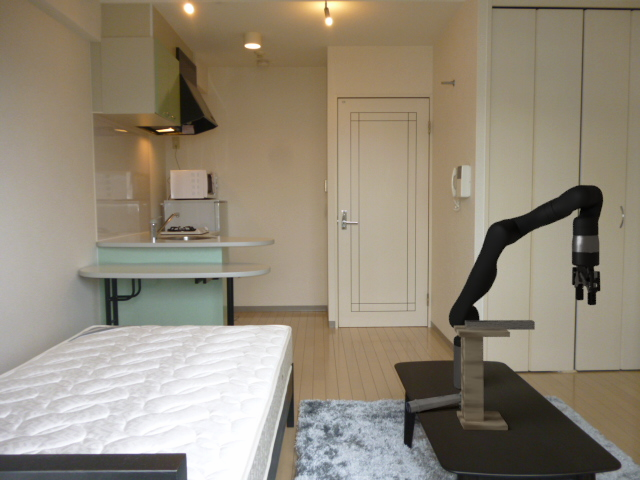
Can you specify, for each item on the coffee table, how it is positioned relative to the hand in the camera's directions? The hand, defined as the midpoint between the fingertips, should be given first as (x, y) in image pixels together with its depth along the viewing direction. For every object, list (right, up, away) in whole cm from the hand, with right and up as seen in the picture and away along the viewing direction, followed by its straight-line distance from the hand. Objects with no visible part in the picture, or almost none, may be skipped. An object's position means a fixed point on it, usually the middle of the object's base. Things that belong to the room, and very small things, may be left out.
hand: (585, 302), depth 153 cm
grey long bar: (-22, -10, +13) cm, 27 cm away
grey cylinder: (-38, -43, +26) cm, 63 cm away
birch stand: (-27, -42, +15) cm, 53 cm away
